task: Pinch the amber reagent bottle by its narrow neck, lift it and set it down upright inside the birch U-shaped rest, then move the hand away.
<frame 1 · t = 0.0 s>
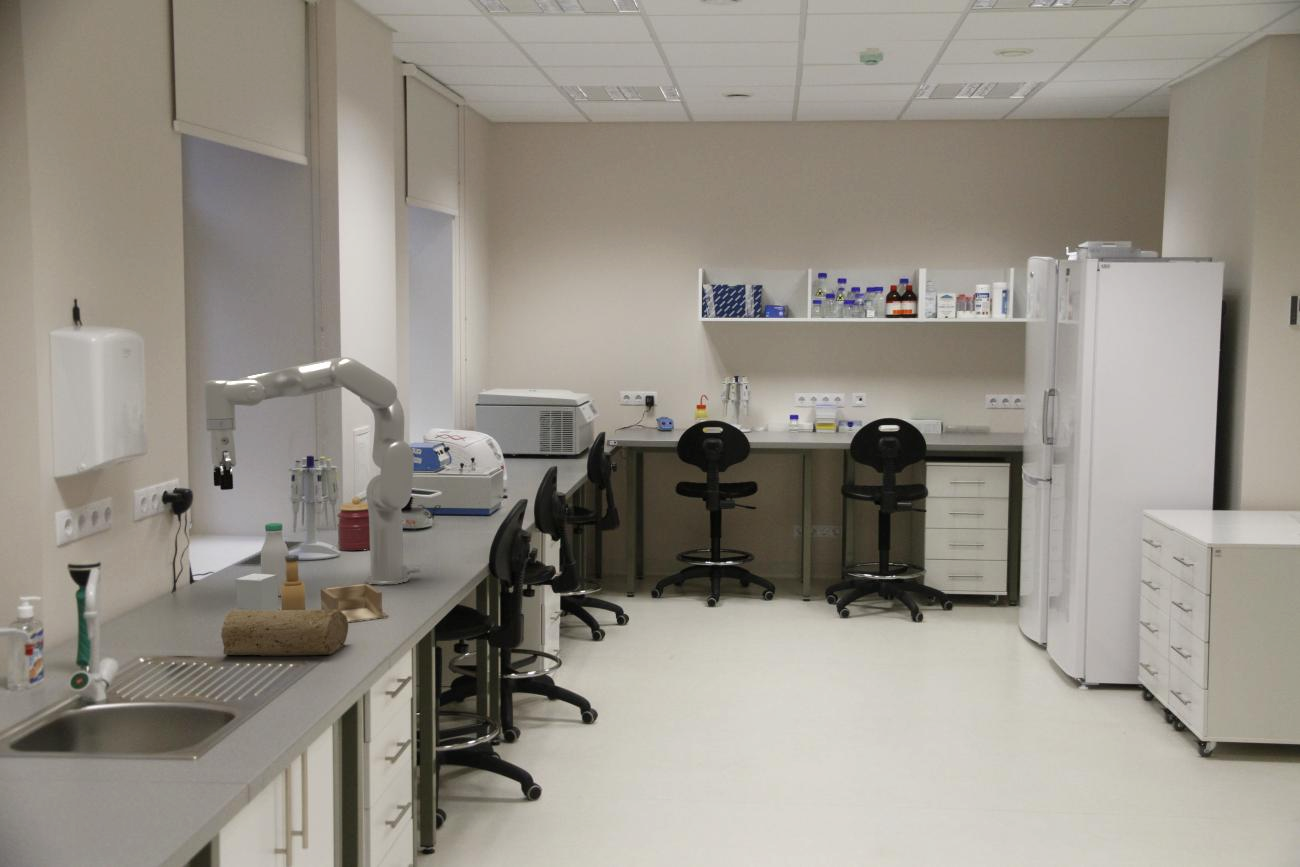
hand: (223, 487, 324), 31 cm above the table, tool pointing down, fingers open, 9 cm apart
bottle: (293, 612, 311), on the table
supplement box: (258, 626, 297), on the table
core sample: (284, 653, 272), on the table
canister: (357, 549, 404), on the table
milk bottle: (276, 595, 333), on the table
u rest: (351, 615, 306), on the table
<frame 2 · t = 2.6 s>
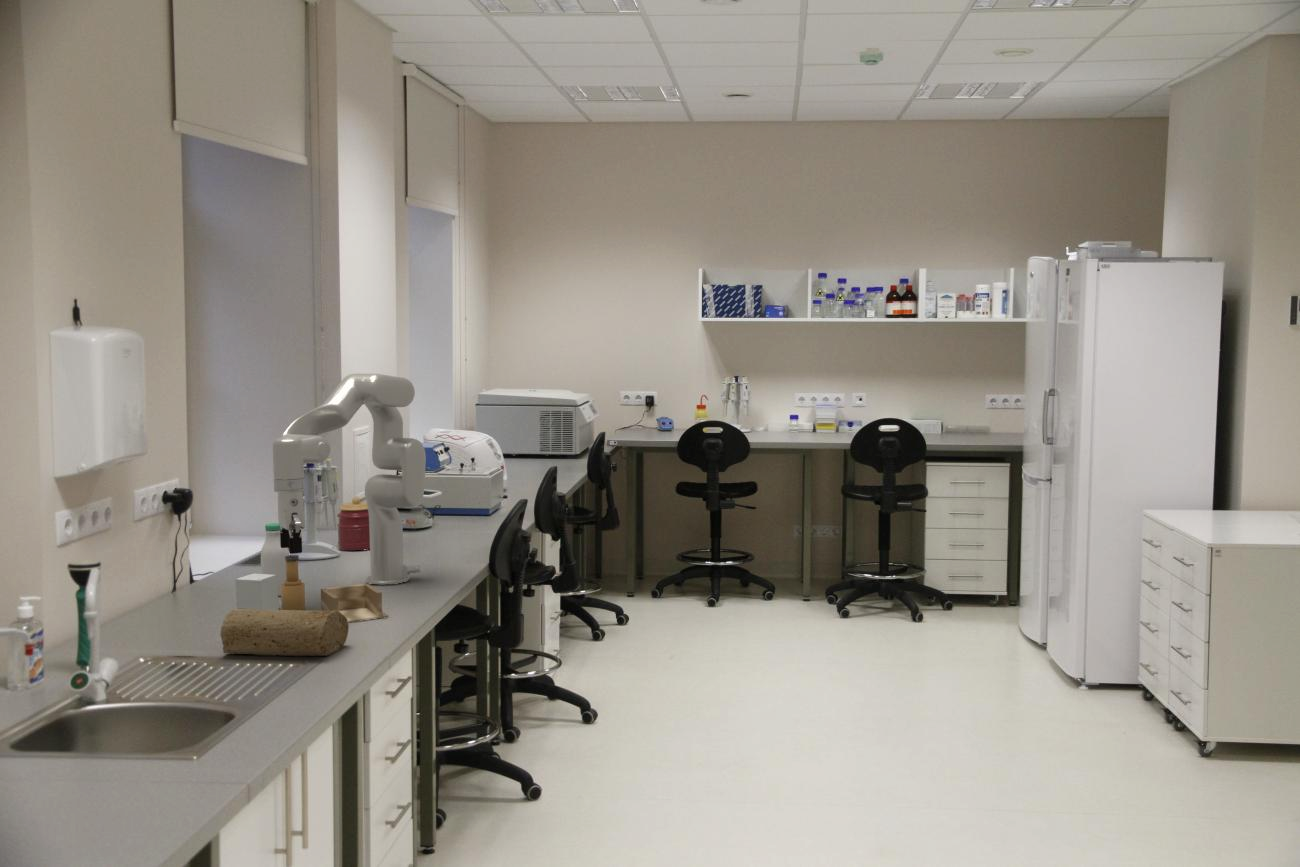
hand: (291, 550, 309), 17 cm above the table, tool pointing down, fingers open, 9 cm apart
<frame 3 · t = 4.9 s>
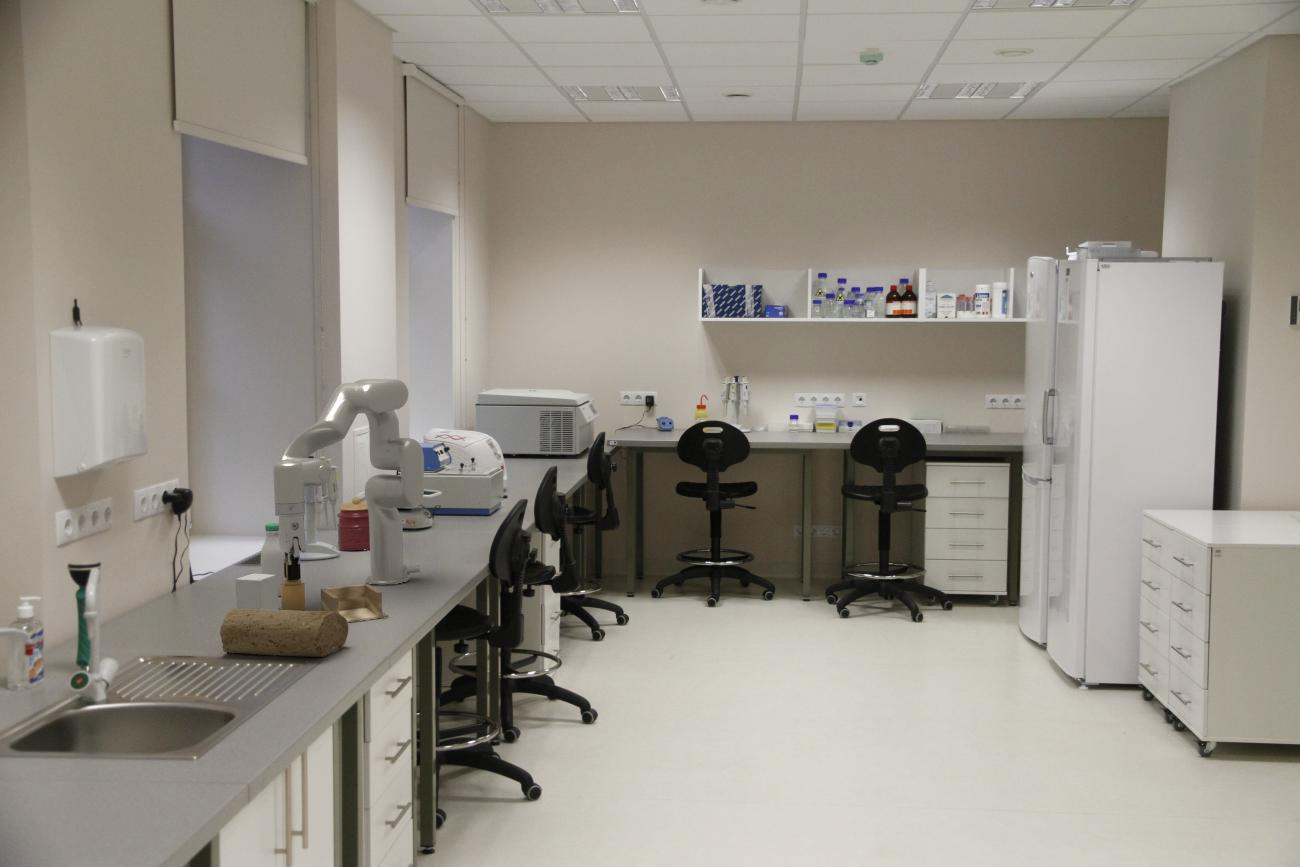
hand: (292, 577, 310), 9 cm above the table, tool pointing down, fingers closed on bottle, 3 cm apart
bottle: (293, 612, 311), on the table, touching gripper
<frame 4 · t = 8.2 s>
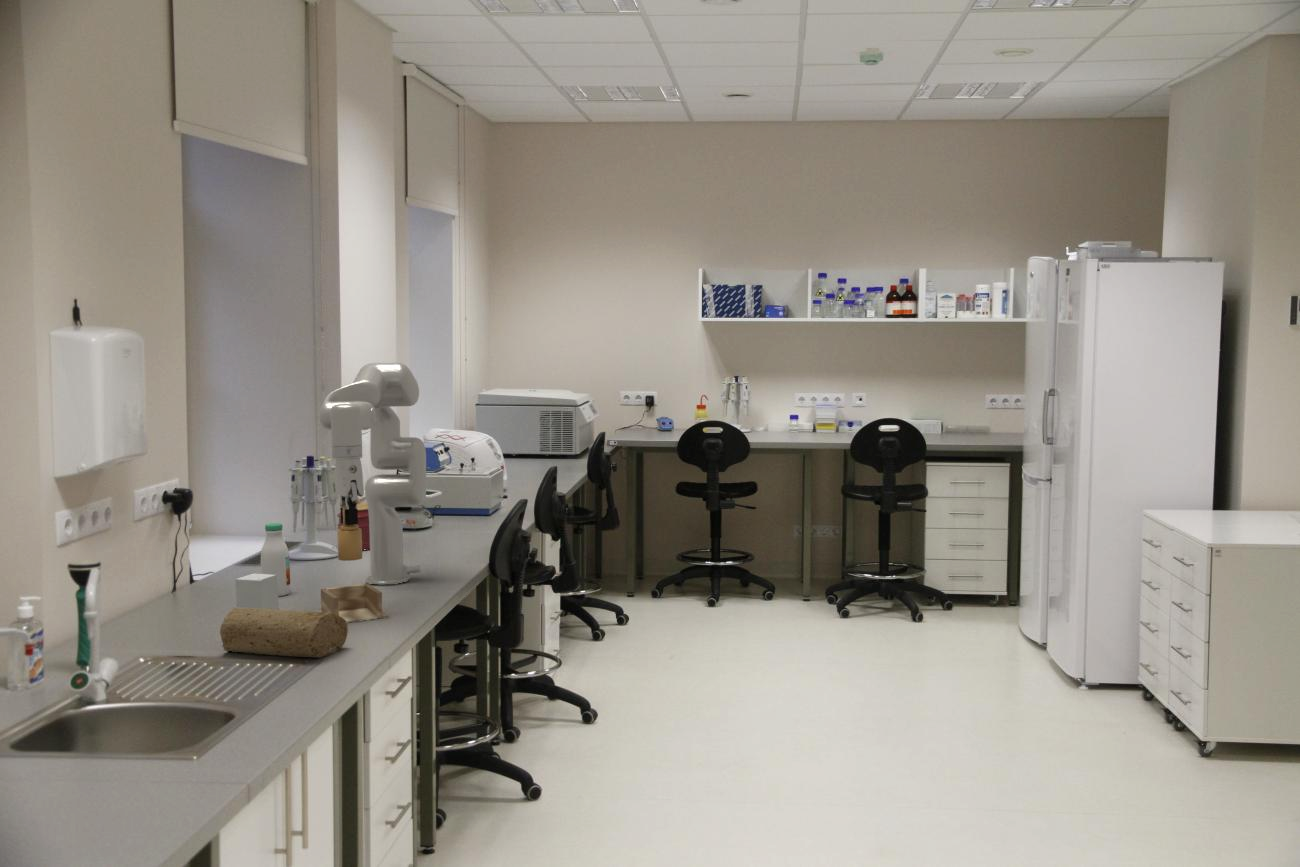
hand: (349, 522, 304), 24 cm above the table, tool pointing down, fingers closed on bottle, 3 cm apart
bottle: (350, 558, 304), point 15 cm above the table, touching gripper
when the fingers open (10 cm above the table, at t = 11.3 s): bottle stays where it is, resting on u rest.
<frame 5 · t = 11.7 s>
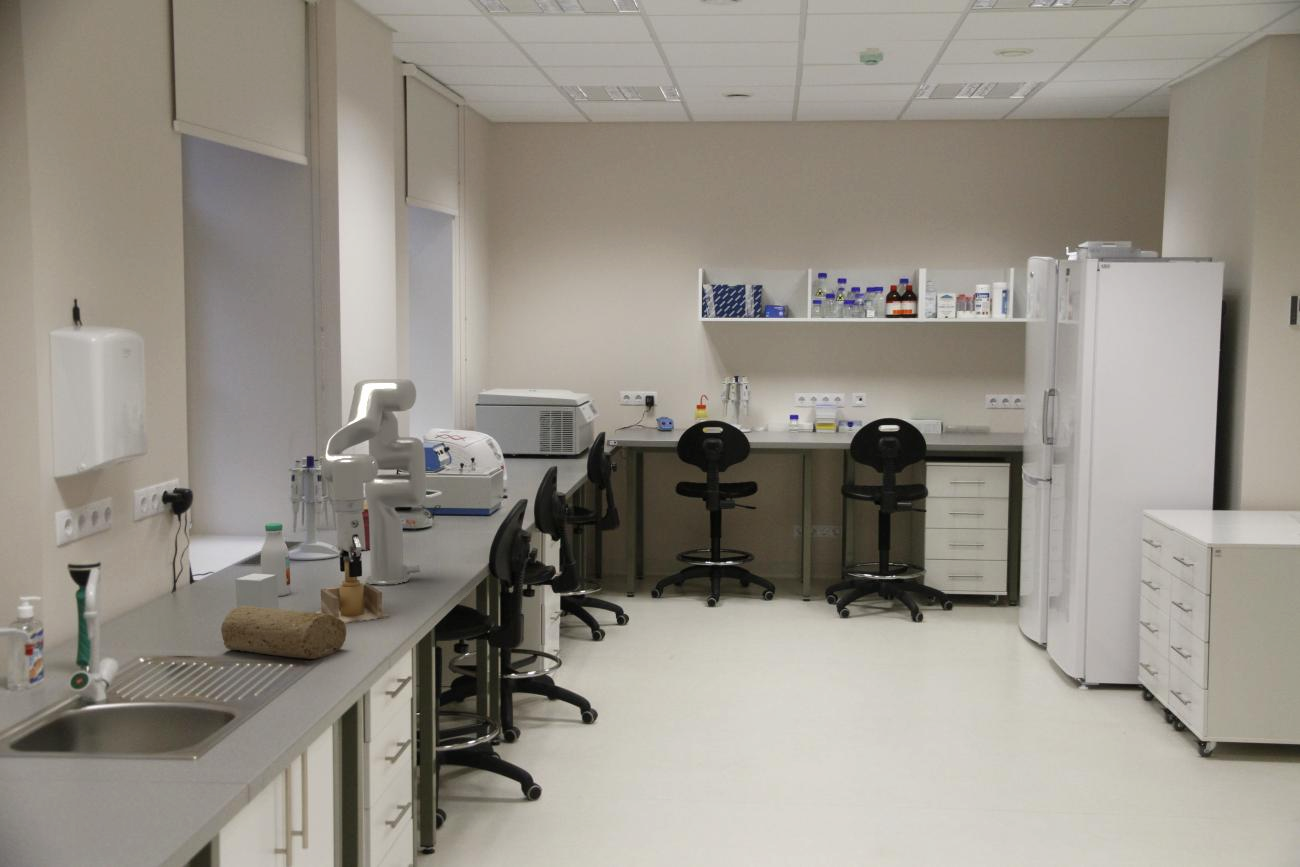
hand: (351, 573, 305), 11 cm above the table, tool pointing down, fingers open, 7 cm apart
bottle: (352, 613, 306), point 1 cm above the table, touching u rest
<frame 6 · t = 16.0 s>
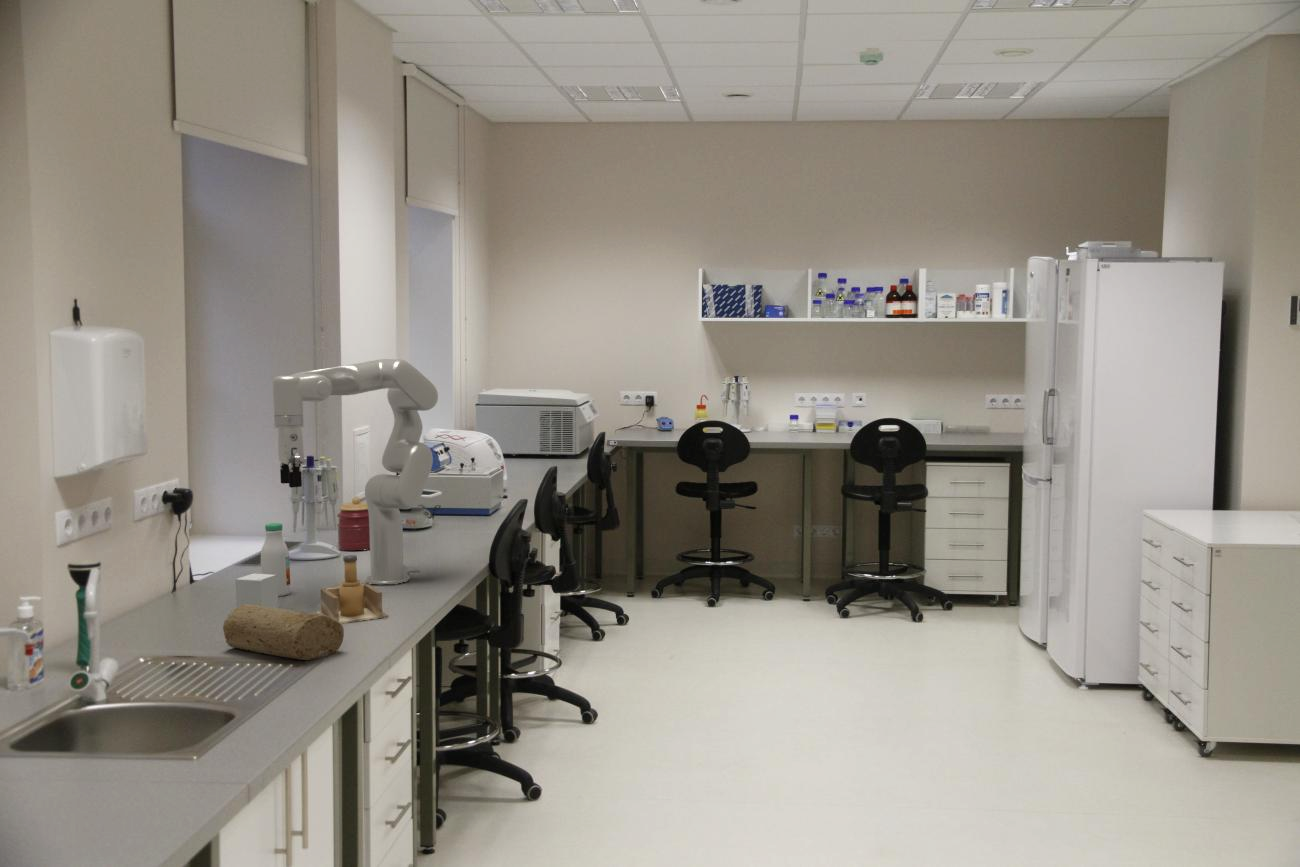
hand: (291, 485, 319), 32 cm above the table, tool pointing down, fingers open, 9 cm apart
at the end: bottle inside the target area on the u rest (0.0 cm from its centre), point 0.6 cm above the u rest's base; bottle tilted 1°; the gripper is holding nothing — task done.
